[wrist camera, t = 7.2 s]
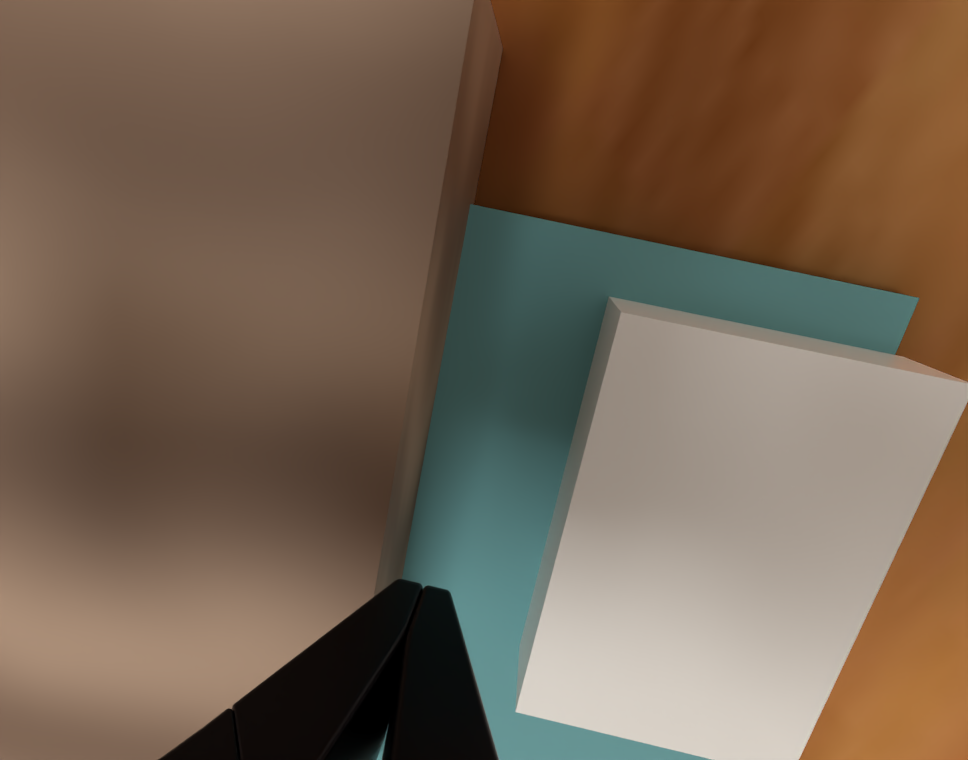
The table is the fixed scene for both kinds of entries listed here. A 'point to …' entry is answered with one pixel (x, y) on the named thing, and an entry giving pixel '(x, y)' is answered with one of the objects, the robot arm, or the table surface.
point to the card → (724, 529)
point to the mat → (565, 419)
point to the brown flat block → (215, 338)
